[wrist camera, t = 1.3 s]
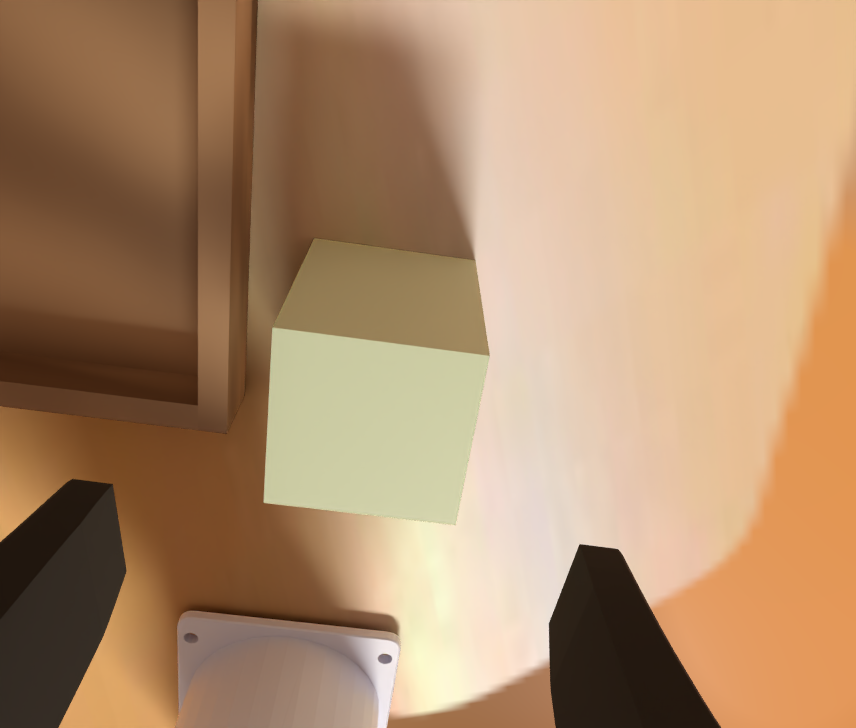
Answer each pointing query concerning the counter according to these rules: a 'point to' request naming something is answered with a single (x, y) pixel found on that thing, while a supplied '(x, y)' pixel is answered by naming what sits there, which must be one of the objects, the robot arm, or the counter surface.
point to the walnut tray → (126, 207)
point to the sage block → (375, 383)
